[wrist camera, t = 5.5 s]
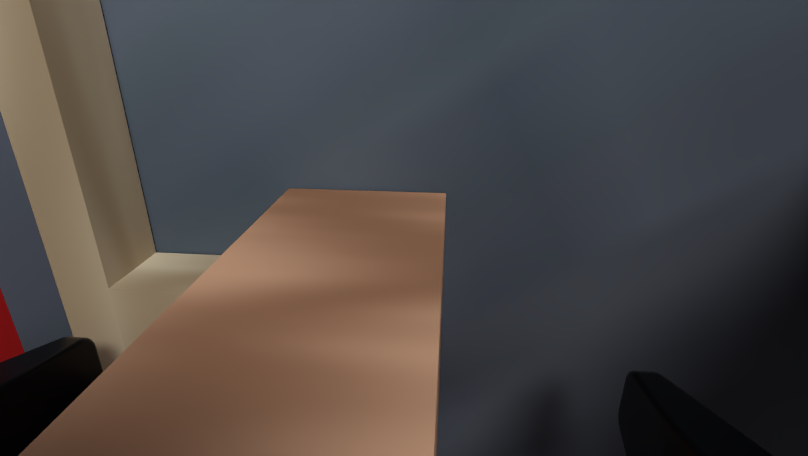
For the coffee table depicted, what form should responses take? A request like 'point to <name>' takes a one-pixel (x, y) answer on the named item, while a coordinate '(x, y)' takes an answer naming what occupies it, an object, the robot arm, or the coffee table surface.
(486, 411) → the coffee table surface
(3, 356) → the puzzle toy
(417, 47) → the coffee table surface
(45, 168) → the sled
